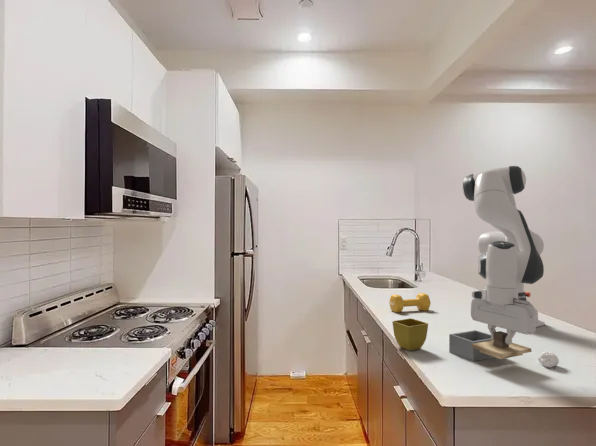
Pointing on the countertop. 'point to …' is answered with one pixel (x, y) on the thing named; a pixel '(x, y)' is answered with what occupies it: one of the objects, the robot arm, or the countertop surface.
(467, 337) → the box
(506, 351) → the lid
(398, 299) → the dumbbell
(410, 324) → the flower pot
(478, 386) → the countertop surface
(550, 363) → the microfossil shell
